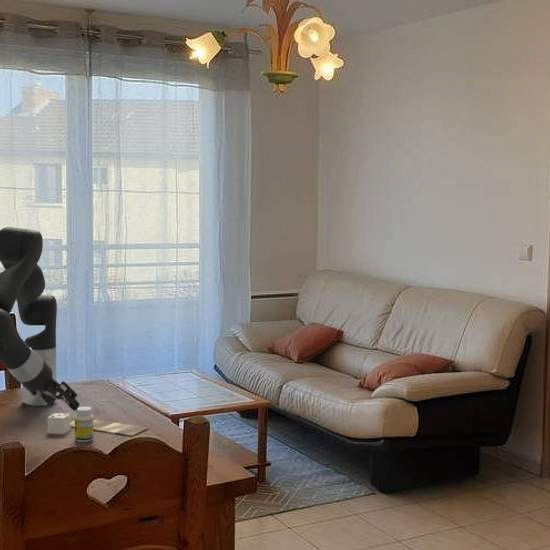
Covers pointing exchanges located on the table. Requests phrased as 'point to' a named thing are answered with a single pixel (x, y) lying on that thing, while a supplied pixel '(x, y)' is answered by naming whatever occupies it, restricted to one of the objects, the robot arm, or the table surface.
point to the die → (58, 423)
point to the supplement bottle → (84, 424)
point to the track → (115, 428)
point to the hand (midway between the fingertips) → (64, 405)
